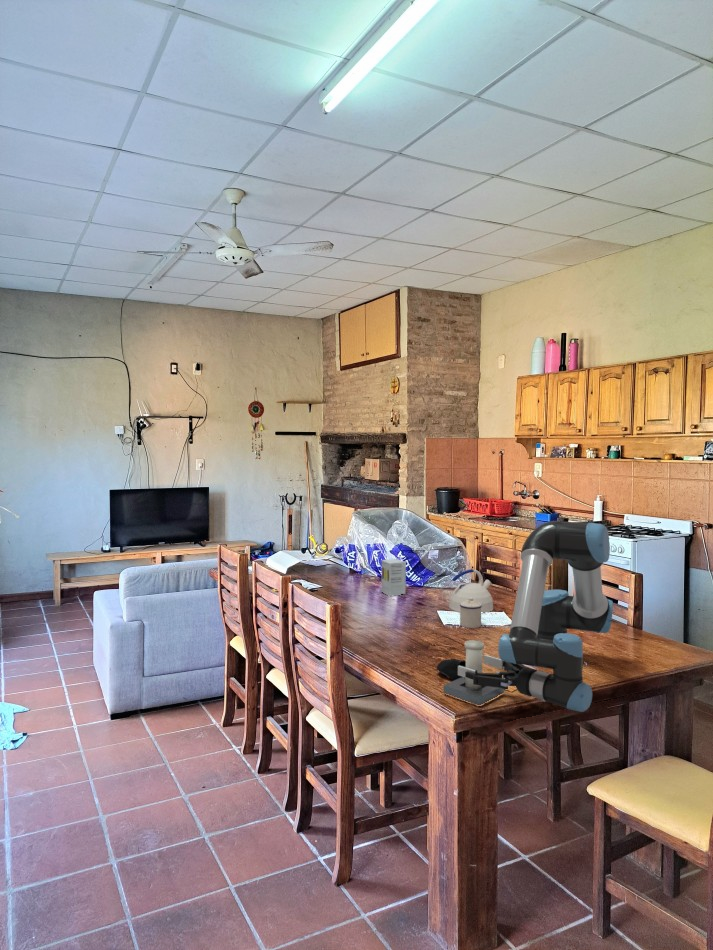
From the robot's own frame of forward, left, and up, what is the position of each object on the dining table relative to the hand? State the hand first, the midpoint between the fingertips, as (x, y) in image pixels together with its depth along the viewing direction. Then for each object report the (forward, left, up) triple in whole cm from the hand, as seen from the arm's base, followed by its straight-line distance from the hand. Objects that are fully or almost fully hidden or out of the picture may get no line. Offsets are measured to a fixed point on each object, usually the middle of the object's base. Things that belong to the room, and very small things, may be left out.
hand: (471, 664), depth 196 cm
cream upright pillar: (0, +1, -9) cm, 9 cm away
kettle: (-84, -59, -10) cm, 104 cm away
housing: (0, +1, -9) cm, 9 cm away
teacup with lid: (-61, -44, -10) cm, 76 cm away
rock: (-9, -13, -10) cm, 19 cm away
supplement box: (-78, -102, -10) cm, 129 cm away
